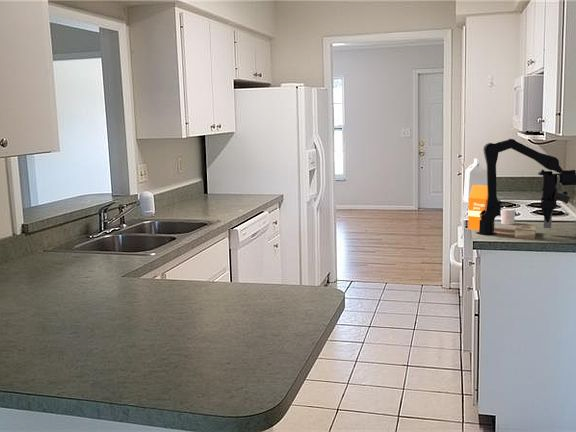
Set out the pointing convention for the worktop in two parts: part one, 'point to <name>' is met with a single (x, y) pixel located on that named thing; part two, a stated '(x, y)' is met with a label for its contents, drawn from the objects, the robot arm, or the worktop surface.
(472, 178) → the milk
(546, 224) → the square bit
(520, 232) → the socket block
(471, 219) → the orange juice
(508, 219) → the white cylinder
